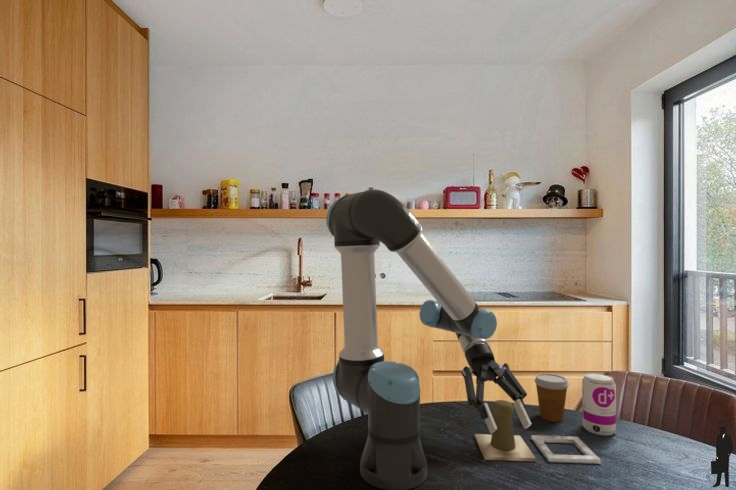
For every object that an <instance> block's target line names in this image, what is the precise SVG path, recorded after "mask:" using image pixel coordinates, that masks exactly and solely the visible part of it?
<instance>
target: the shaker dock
mask: <svg viewBox="0 0 736 490" xmlns="http://www.w3.org/2000/svg"><path fill="white" fill-rule="evenodd" d="M530 437H531V438H530V439H531V441H532V442H533V443H534V444H535V446H536V447H537V448H538V450H539V451H540V453H541V454H542V455H543V457H544V458H545V459H546V461H547V462H548V463H564V464H565V463H567V464H592V465H593V464H594V465H595V464H596V465H601V458H600V457H599V456H598V455H596V453H595V452H594V451H593V450H591V449H590V447H588V445H587V444H586V443H584V442H583V440H581V439H580V437H578V436H570V435H568V436H565V435H543V434H542V435H541V434H540V435H539V434H537V435H536V434H534V435H533V434H531V436H530ZM547 443H548V444H549V443H552V444H573V445H574V446H575V447H576V448H577V449H578V450H579V451H580V452H581V453H582V454H583V455H582V454H555V453H553V452H552V451H551V450H550V448H549V447H548V445H547Z"/></svg>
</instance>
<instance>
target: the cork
mask: <svg viewBox="0 0 736 490" xmlns="http://www.w3.org/2000/svg"><path fill="white" fill-rule="evenodd" d="M491 409H492V412H493V414H494V416H493V419H494V421H495V424H496V426H497V430H496V431H495V432H494V433H491V435H492V437H491V446H493V447H494V448H496V449H499V450H503V451H511V450H514V449H515V447H516V446H515V439H514V435H515V432H514V425H513V419H512V416H513V414H514V410H515V408H514V406H513V403H511V402H510V401H507V400H504V399H498V400H495V401H493V402H492V406H491Z"/></svg>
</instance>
